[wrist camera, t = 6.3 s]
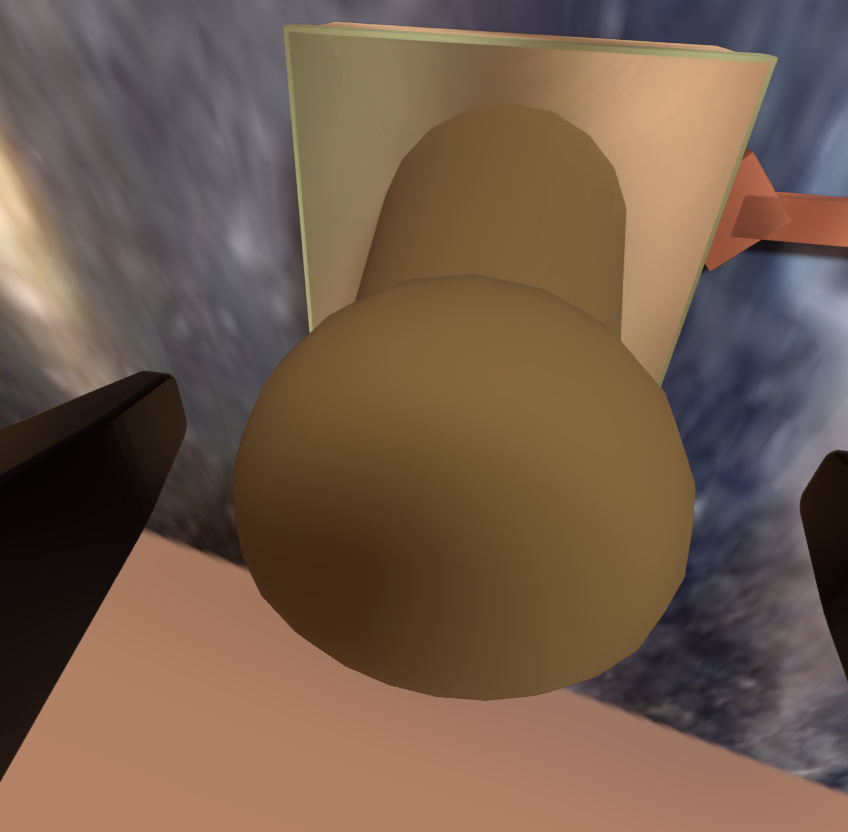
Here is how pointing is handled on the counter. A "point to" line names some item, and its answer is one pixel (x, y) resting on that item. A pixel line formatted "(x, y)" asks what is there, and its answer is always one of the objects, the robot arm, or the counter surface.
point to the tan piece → (575, 102)
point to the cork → (473, 432)
